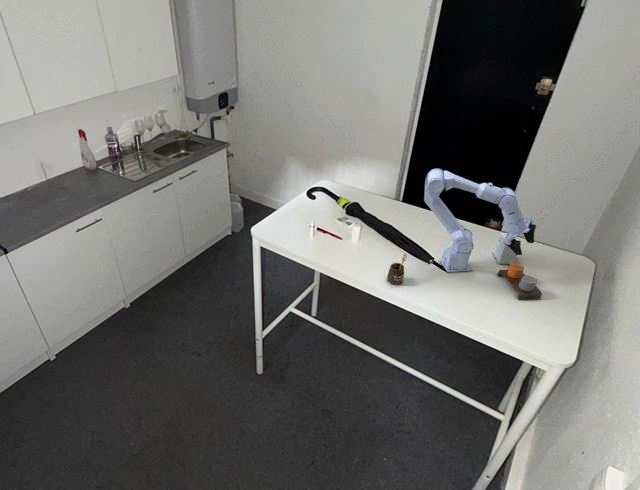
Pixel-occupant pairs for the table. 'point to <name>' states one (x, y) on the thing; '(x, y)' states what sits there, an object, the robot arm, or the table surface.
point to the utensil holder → (396, 272)
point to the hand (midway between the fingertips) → (524, 248)
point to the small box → (504, 251)
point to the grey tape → (527, 283)
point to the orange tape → (515, 270)
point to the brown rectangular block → (515, 284)
